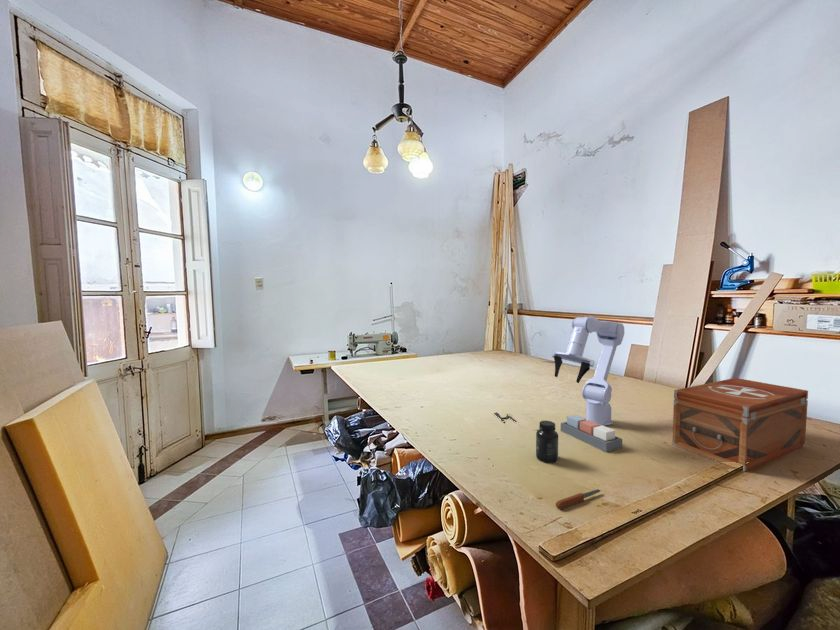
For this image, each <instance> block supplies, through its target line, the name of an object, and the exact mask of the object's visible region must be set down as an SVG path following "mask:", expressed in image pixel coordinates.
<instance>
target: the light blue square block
mask: <svg viewBox="0 0 840 630" xmlns="http://www.w3.org/2000/svg"><path fill="white" fill-rule="evenodd" d="M581 421H586V417H585V418H584V417H582V416H579V415H577V414H574V415H569V416H566V422H567V424H568V425H570V426H573V427H575V428H577V429H578V428H580V422H581Z"/></svg>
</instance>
